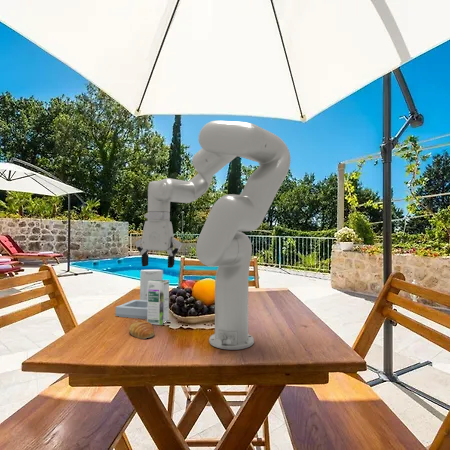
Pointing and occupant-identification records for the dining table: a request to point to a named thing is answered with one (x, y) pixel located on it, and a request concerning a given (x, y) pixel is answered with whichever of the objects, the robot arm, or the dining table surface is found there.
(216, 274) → the robot arm
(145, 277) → the skincare box
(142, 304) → the socket block
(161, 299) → the syrup box
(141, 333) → the pastry
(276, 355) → the dining table surface
